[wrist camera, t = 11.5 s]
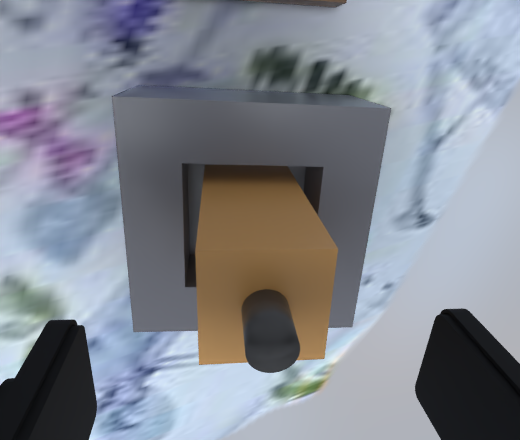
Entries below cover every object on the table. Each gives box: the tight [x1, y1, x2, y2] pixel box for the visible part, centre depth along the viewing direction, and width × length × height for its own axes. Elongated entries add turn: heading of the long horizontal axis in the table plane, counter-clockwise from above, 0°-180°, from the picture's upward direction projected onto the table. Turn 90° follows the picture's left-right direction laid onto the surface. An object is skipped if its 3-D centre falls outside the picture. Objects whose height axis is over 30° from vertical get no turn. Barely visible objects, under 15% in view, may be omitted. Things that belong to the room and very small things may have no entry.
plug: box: [195, 165, 338, 373], centre depth 17 cm, size 4×4×12 cm
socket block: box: [112, 85, 391, 332], centre depth 22 cm, size 12×12×6 cm
